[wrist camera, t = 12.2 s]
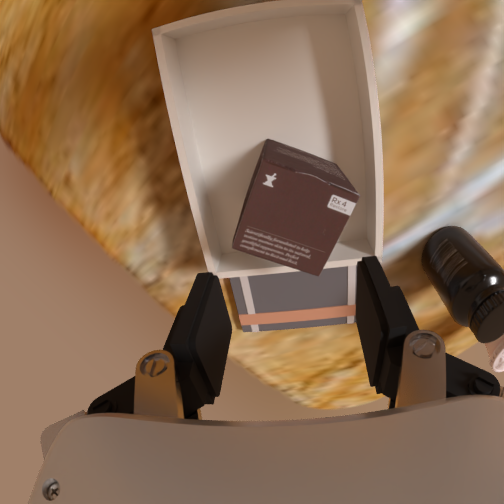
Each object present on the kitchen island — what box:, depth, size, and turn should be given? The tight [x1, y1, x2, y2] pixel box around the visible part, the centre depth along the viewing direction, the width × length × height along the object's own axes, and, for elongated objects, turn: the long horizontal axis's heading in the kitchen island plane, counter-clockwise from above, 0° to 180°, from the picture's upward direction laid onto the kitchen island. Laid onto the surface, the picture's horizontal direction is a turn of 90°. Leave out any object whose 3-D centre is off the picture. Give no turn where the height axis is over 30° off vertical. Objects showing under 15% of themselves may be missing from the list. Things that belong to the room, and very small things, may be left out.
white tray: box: [152, 0, 384, 279], centre depth 22 cm, size 20×14×5 cm
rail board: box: [230, 265, 357, 332], centre depth 27 cm, size 33×14×1 cm, turn 10°
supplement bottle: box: [422, 226, 504, 343], centre depth 24 cm, size 7×7×12 cm
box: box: [232, 139, 360, 276], centre depth 21 cm, size 6×6×7 cm
